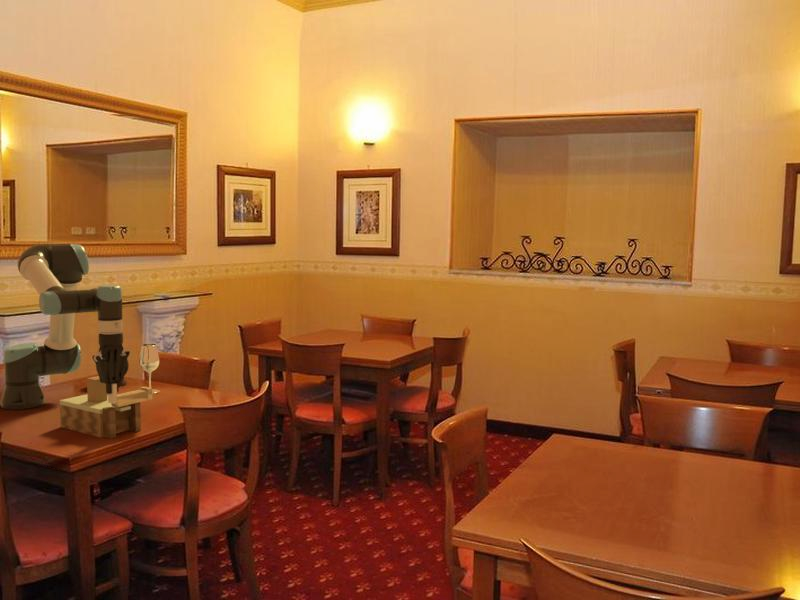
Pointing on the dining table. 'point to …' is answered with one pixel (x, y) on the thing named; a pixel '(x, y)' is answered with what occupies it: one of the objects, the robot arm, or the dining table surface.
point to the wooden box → (101, 420)
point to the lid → (92, 398)
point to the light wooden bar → (133, 397)
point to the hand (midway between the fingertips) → (112, 402)
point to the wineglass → (149, 360)
